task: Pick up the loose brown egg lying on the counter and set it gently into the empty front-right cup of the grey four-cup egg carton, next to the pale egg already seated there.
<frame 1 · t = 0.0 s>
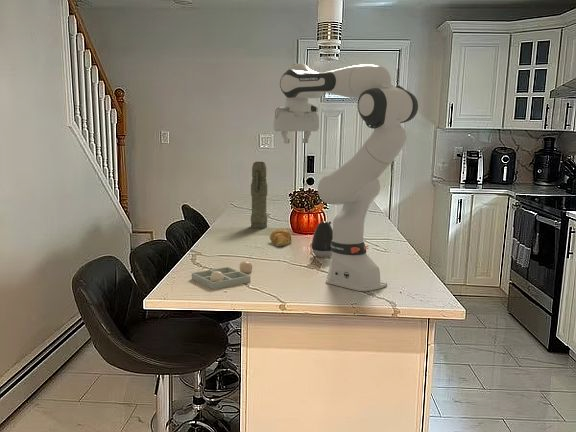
hand: (296, 143, 217), 48 cm above the table, tool pointing down, fingers open, 8 cm apart
pump dispenser: (323, 256, 235), on the table
thermos: (259, 227, 299), on the table
pale egg: (217, 284, 190), point 1 cm above the table, touching carton
brown egg: (245, 273, 207), on the table
croissant: (280, 243, 261), on the table
carton: (220, 282, 195), on the table
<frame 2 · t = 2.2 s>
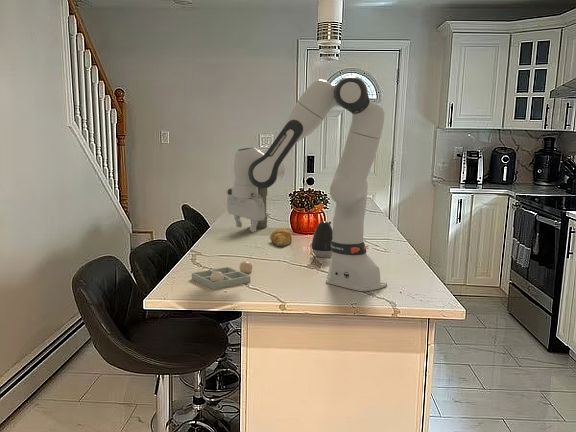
hand: (245, 229, 204), 17 cm above the table, tool pointing down, fingers open, 8 cm apart
nothing on the table moved.
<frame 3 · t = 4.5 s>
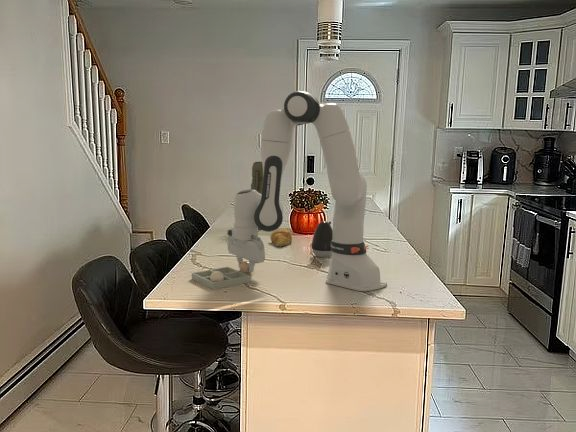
hand: (246, 269, 206), 2 cm above the table, tool pointing down, fingers closed on brown egg, 5 cm apart
brown egg: (245, 273, 207), on the table, touching gripper
everything else where it was.
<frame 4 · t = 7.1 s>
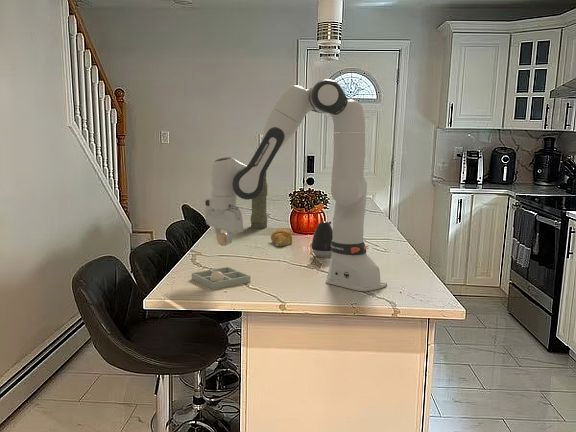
hand: (223, 241, 198), 14 cm above the table, tool pointing down, fingers closed on brown egg, 5 cm apart
brown egg: (223, 245, 198), point 12 cm above the table, touching gripper
everything else where it was.
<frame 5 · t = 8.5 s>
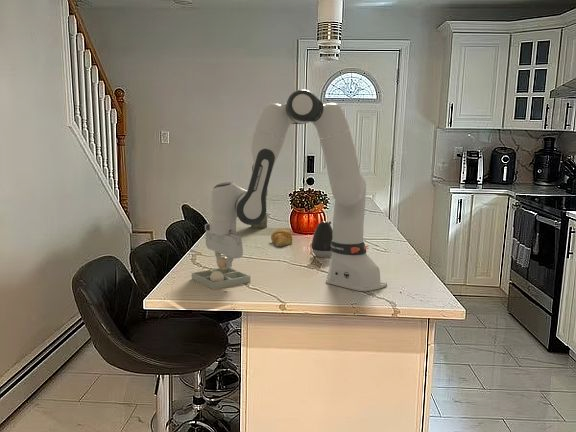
hand: (224, 265, 200), 5 cm above the table, tool pointing down, fingers closed on brown egg, 5 cm apart
brown egg: (223, 269, 200), point 3 cm above the table, touching gripper
everything else where it was.
when the fingers open (4 cm above the table, at t = 9.5 s): brown egg drops 2 cm, resting on carton.
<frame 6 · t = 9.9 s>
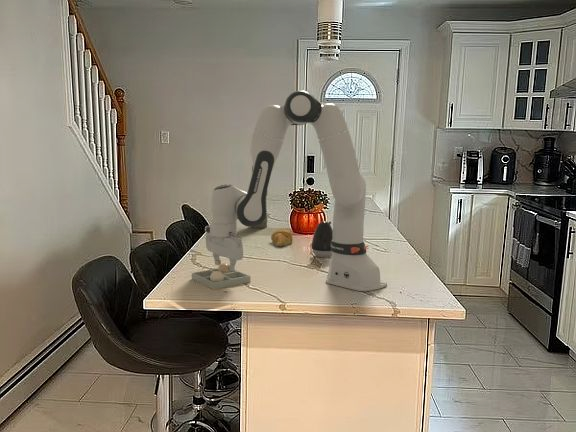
hand: (224, 267, 200), 4 cm above the table, tool pointing down, fingers open, 8 cm apart
brown egg: (224, 276, 200), point 1 cm above the table, touching carton
everything else where it was.
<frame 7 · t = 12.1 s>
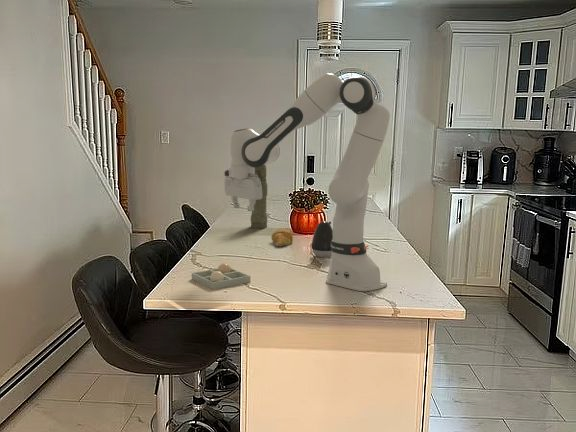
hand: (243, 209, 208), 24 cm above the table, tool pointing down, fingers open, 8 cm apart
nothing on the table moved.
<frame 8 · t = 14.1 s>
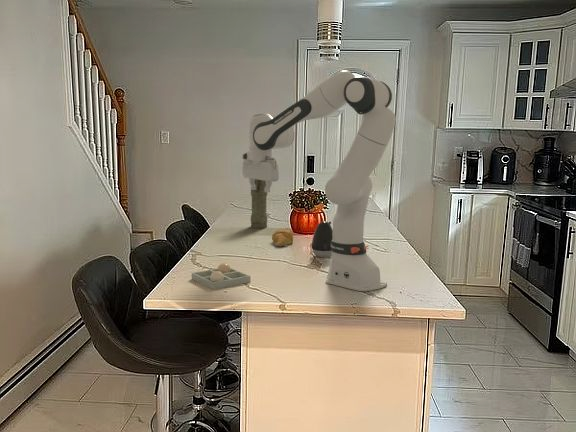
hand: (260, 191, 219), 29 cm above the table, tool pointing down, fingers open, 8 cm apart
nothing on the table moved.
at the end: brown egg 0.1 cm from the target spot on the carton, point 0.8 cm above the carton's base; the gripper is holding nothing; pale egg moved 0.0 cm from its start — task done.
